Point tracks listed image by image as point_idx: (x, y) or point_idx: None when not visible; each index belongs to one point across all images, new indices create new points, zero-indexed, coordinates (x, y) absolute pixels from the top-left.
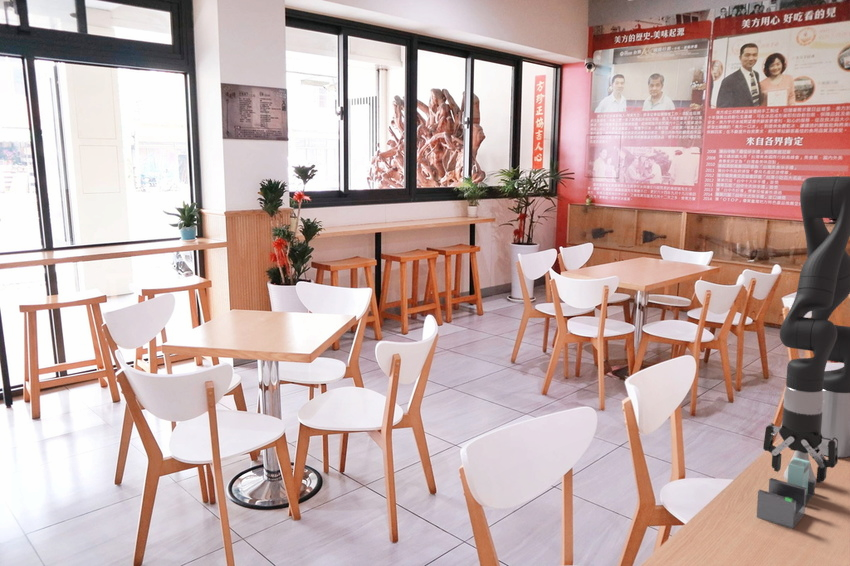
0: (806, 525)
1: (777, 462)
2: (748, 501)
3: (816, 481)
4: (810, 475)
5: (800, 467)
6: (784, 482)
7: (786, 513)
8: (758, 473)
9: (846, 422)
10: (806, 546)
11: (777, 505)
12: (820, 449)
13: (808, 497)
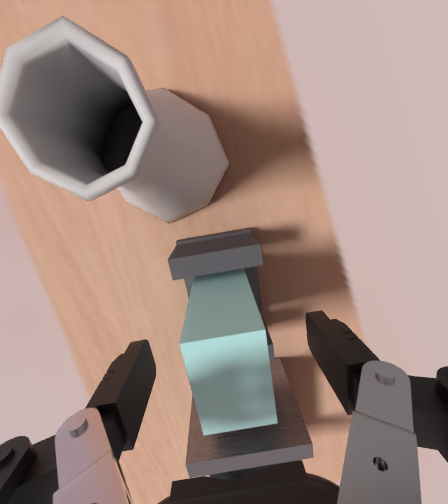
0: (299, 388)
1: (142, 416)
2: (151, 391)
3: (311, 351)
4: (208, 170)
5: (261, 423)
6: (237, 460)
7: None
8: (45, 216)
9: None
10: (328, 450)
11: None
12: (416, 463)
13: (250, 273)
